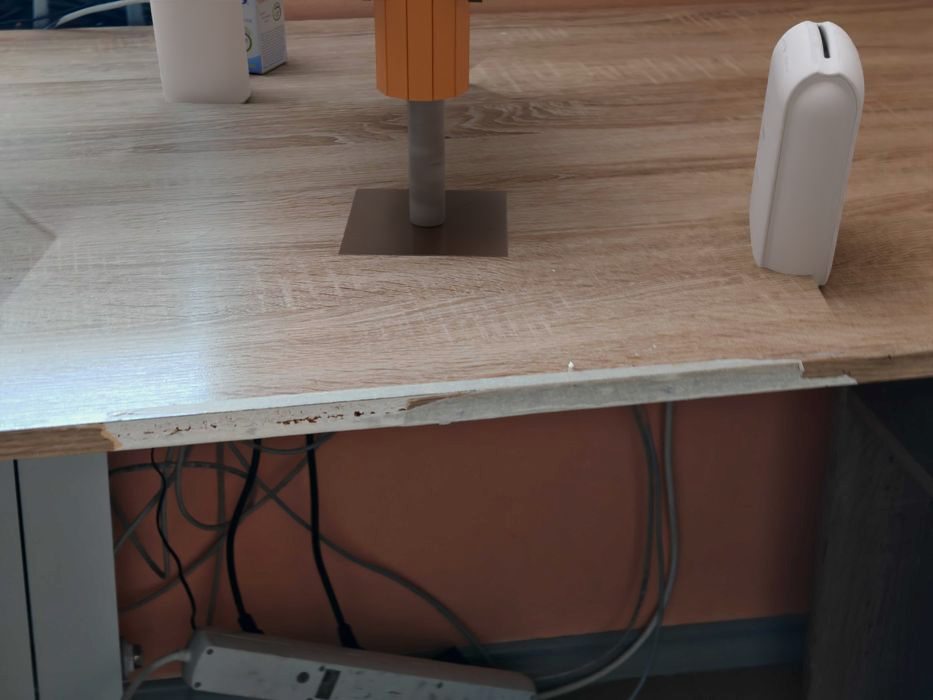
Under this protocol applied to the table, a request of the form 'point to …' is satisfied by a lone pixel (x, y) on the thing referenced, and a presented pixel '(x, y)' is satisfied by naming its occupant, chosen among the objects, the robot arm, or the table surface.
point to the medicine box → (264, 34)
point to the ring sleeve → (422, 48)
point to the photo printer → (805, 150)
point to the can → (201, 51)
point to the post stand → (427, 204)
